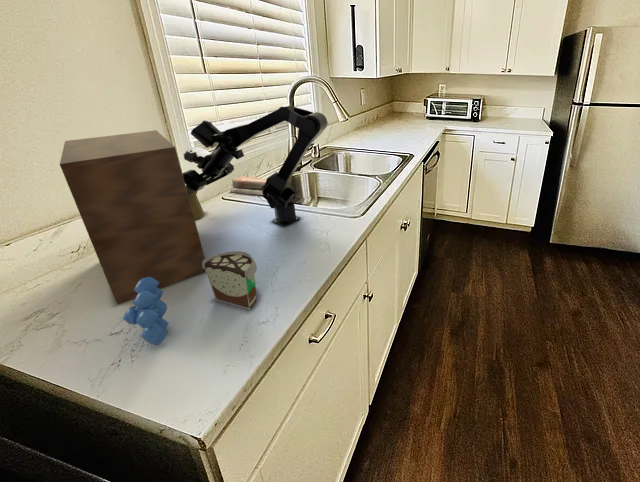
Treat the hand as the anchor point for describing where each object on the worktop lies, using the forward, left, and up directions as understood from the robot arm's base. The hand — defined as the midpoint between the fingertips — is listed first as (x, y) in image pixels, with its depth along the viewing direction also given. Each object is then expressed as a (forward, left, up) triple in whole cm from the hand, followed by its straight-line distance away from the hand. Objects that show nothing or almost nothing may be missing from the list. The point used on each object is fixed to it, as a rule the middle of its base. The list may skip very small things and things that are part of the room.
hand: (196, 189), depth 107 cm
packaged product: (+6, -25, -10) cm, 28 cm away
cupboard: (-17, +21, -10) cm, 29 cm away
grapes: (-45, +33, -10) cm, 56 cm away
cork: (+3, +1, -10) cm, 11 cm away
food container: (-49, +17, -10) cm, 53 cm away
